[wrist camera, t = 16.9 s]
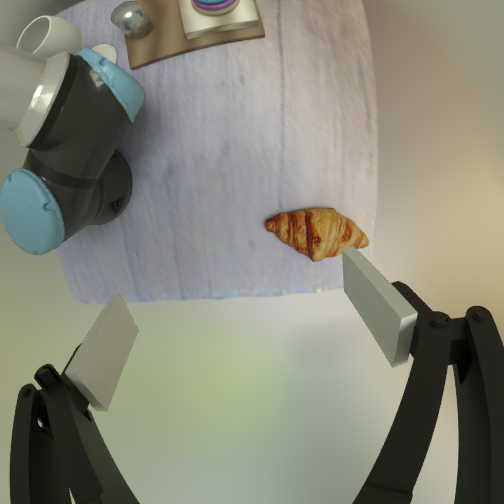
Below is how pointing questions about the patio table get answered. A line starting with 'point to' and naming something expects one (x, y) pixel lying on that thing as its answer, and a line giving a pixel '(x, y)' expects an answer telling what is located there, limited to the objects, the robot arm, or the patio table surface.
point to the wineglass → (57, 39)
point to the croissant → (317, 232)
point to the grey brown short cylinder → (132, 20)
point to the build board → (176, 35)
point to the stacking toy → (214, 6)
